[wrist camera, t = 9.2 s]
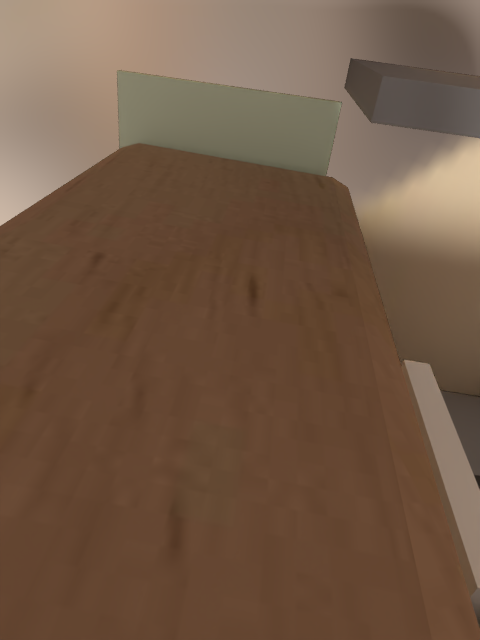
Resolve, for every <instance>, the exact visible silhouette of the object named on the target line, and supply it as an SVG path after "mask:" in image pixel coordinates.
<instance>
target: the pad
mask: <svg viewBox="0 0 480 640" xmlns="http://www.w3.org/2000/svg"><path fill="white" fill-rule="evenodd" d="M117 86H118V115H119V116H118V118H119V149H120V148H122V147H125V146H129V145H133V144H137V143H142V144H148V145H153V146H159V147H164V148H170V149H176V150H181V151H187V152H192V153H198V154H204V155H209V156H215V157H220V158H226V159H232V160H237V161H243V162H248V163H254V164H260V165H265V166H271V167H276V168H282V169H288V170H293V171H299V172H304V173H310V174H316V175H321V176H326V174H327V169H328V165H329V160H330V155H331V151H332V146H333V142H334V137H335V133H336V128H337V124H338V119H339V114H340V110H341V105H342V102H339V101H332V100H325V99H317V98H311V97H304V96H297V95H290V94H283V93H276V92H269V91H261V90H254V89H248V88H241V87H234V86H227V85H220V84H213V83H205V82H199V81H192V80H184V79H178V78H171V77H163V76H157V75H150V74H143V73H136V72H128V71H122V70H119V71H117Z"/></svg>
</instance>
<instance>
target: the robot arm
mask: <svg viewBox="0 0 480 640" xmlns="http://www.w3.org/2000/svg"><path fill="white" fill-rule="evenodd" d="M401 367H402V370H403V374H404V377H405V381H406V384H407V387H408V391H409V394H410V397H411V401H412V404H413V407H414V411H415V414H416V417H417V421H418V424H419V427H420V431H421V434H422V437H423V441H424V444H425V448H426V451H427V454H428V458H429V461H430V464H431V468H432V471H433V474H434V478H435V481H436V484H437V488H438V491H439V494H440V498H441V501H442V505H443V508H444V511H445V515H446V518H447V521H448V525H449V528H450V531H451V535H452V538H453V541H454V545H455V548H456V551H457V555H458V558H459V561H460V565H461V568H462V572H463V575H464V578H465V582H466V585H467V588H468V592H469V595H470V598H471V602H472V605H473V608H474V612H475V615H476V618H477V622H478V625H479V629H480V476H479V475H474V474H473V472H472V469H471V467H470V464H469V462H468V459H467V457H466V454H465V452H464V449H463V447H462V444H461V442H460V439H459V437H458V434H457V432H456V429H455V427H454V424H453V422H452V419H451V417H450V414H449V412H448V409H447V407H446V404H445V402H444V399H443V397H442V394H441V391H440V389H439V386H438V384H437V381H436V379H435V376H434V374H433V371H432V369H431V366H430V364H428V363H422V362H415V361H409V360H403V363H402V365H401Z"/></svg>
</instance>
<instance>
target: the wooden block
mask: <svg viewBox="0 0 480 640" xmlns="http://www.w3.org/2000/svg"><path fill="white" fill-rule="evenodd" d="M0 640H480V629H479V625H478V622H477V618H476V615H475V612H474V608H473V605H472V602H471V598H470V595H469V592H468V588H467V585H466V582H465V578H464V575H463V572H462V568H461V565H460V561H459V558H458V555H457V551H456V548H455V545H454V541H453V538H452V535H451V531H450V528H449V525H448V521H447V518H446V515H445V511H444V508H443V505H442V501H441V498H440V494H439V491H438V488H437V484H436V481H435V478H434V474H433V471H432V468H431V464H430V461H429V458H428V454H427V451H426V448H425V444H424V441H423V437H422V434H421V431H420V427H419V424H418V421H417V417H416V414H415V411H414V407H413V404H412V401H411V397H410V394H409V391H408V387H407V384H406V381H405V377H404V374H403V370H402V367H401V364H400V360H399V357H398V354H397V350H396V347H395V344H394V340H393V337H392V334H391V330H390V327H389V324H388V320H387V317H386V313H385V310H384V307H383V303H382V300H381V297H380V293H379V290H378V287H377V283H376V280H375V277H374V273H373V270H372V267H371V263H370V260H369V256H368V253H367V250H366V246H365V243H364V240H363V236H362V233H361V230H360V226H359V223H358V220H357V216H356V213H355V210H354V206H353V203H352V200H351V196H350V193H349V189H348V187H346V186H345V185H343V184H342V183H340V182H339V181H337V180H336V179H334V178H332V177H327V176H321V175H316V174H310V173H304V172H299V171H293V170H288V169H282V168H276V167H271V166H265V165H260V164H254V163H248V162H243V161H237V160H232V159H226V158H220V157H215V156H209V155H204V154H198V153H192V152H187V151H181V150H176V149H170V148H164V147H159V146H153V145H148V144H142V143H137V144H133V145H129V146H125V147H122V148H120V149H119V150H117V151H116V152H114V153H113V154H111V155H109V156H108V157H106V158H105V159H103V160H102V161H100V162H99V163H97V164H96V165H94V166H92V167H91V168H89V169H88V170H86V171H85V172H83V173H82V174H80V175H79V176H77V177H76V178H74V179H72V180H71V181H69V182H68V183H66V184H65V185H63V186H62V187H60V188H58V189H57V190H55V191H54V192H52V193H51V194H49V195H48V196H46V197H45V198H43V199H42V200H40V201H38V202H37V203H35V204H34V205H32V206H31V207H29V208H28V209H26V210H25V211H23V212H21V213H20V214H18V215H17V216H15V217H14V218H12V219H11V220H9V221H7V222H6V223H4V224H3V225H1V226H0Z"/></svg>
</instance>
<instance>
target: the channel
mask: <svg viewBox="0 0 480 640" xmlns="http://www.w3.org/2000/svg"><path fill="white" fill-rule="evenodd" d="M345 89H346V90H347V92H348V93H349V94H350V96H351V97H352V98H353V99H354V101H355V102H356V104H357V105H358V106H359V107H360V109H361V110H362V111H363V113H364V114H365V115H366V117H367V118H368V119H369V121H370V122H371V123H378V124H385V125H392V126H398V127H405V128H412V129H419V130H426V131H433V132H440V133H447V134H454V135H461V136H468V137H475V138H480V76H473V75H467V74H459V73H452V72H445V71H438V70H431V69H423V68H416V67H409V66H402V65H395V64H387V63H380V62H373V61H366V60H359V59H352V58H351V60H350V65H349V69H348V74H347V79H346V83H345ZM441 394H442V397H443V399H444V402H445V404H446V407H447V409H448V412H449V414H450V417H451V419H452V422H453V424H454V427H455V429H456V432H457V434H458V437H459V439H460V442H461V444H462V447H463V449H464V452H465V454H466V457H467V459H468V462H469V464H470V467H471V469H472V472H473V474H474V475H479V476H480V397H477V396H471V395H465V394H459V393H453V392H447V391H441Z"/></svg>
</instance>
